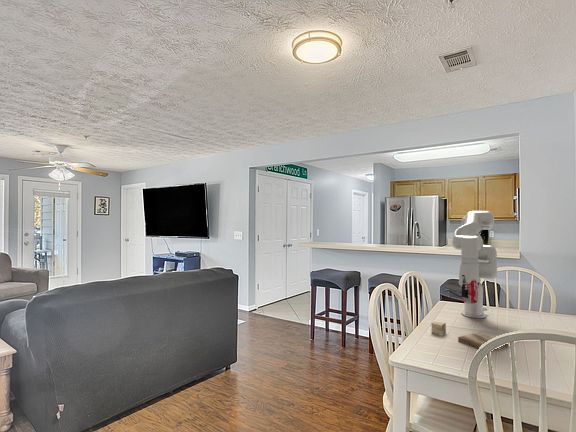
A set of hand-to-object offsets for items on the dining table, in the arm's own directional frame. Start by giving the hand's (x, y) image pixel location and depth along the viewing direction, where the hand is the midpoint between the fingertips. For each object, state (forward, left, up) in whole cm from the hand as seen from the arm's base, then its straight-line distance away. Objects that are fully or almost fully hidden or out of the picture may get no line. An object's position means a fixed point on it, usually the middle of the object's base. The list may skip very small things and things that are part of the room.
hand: (469, 296), depth 170 cm
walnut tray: (+11, +15, -18) cm, 25 cm away
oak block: (+17, -4, -18) cm, 25 cm away
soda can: (0, 0, -4) cm, 4 cm away
